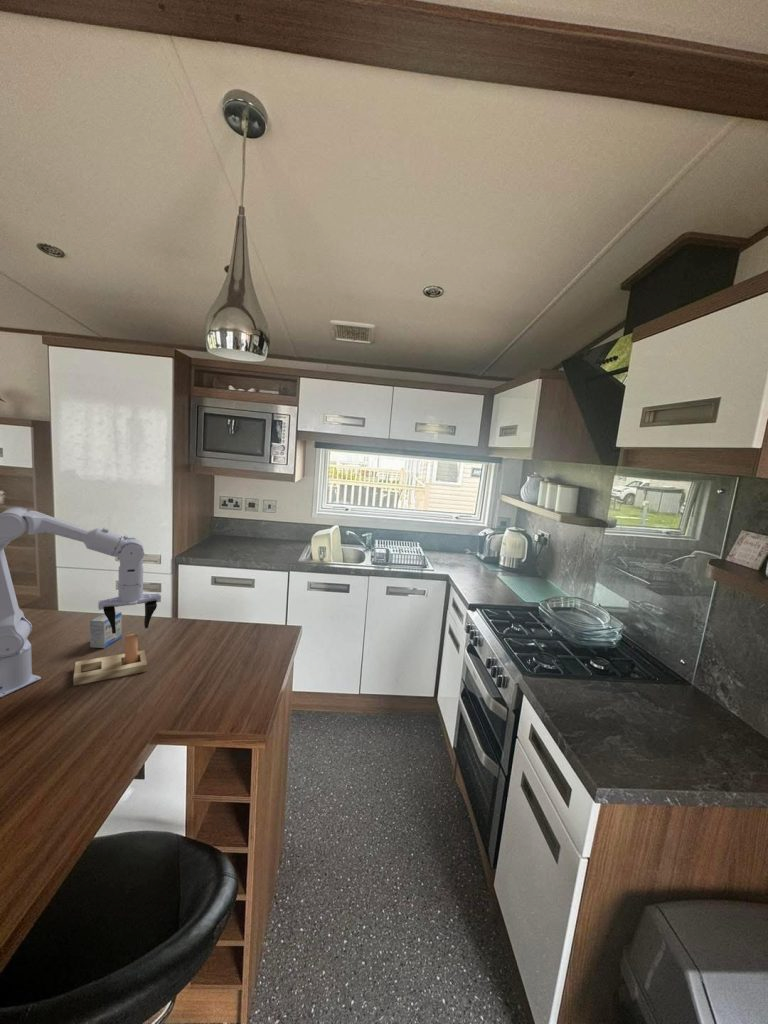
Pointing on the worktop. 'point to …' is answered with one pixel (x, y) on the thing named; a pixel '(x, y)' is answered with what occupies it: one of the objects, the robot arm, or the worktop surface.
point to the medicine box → (104, 631)
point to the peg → (131, 648)
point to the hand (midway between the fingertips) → (130, 629)
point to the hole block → (107, 668)
